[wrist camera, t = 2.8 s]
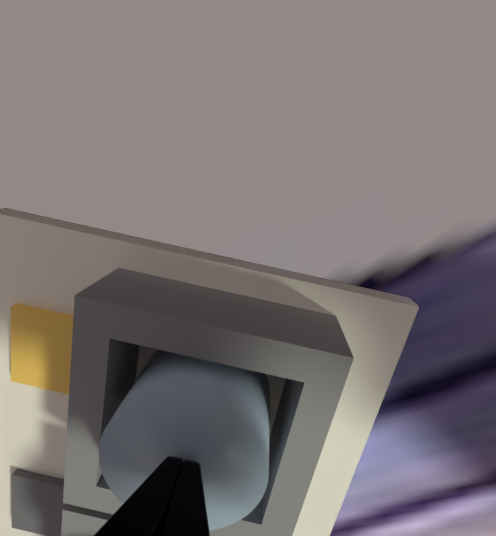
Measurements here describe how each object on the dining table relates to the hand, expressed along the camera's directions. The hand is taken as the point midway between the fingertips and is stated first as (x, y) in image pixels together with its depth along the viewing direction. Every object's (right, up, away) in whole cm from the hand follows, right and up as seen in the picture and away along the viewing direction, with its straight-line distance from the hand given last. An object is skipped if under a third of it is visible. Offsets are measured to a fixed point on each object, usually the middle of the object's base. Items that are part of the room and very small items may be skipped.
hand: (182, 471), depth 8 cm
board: (-2, -6, +6) cm, 9 cm away
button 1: (0, +1, +3) cm, 3 cm away
